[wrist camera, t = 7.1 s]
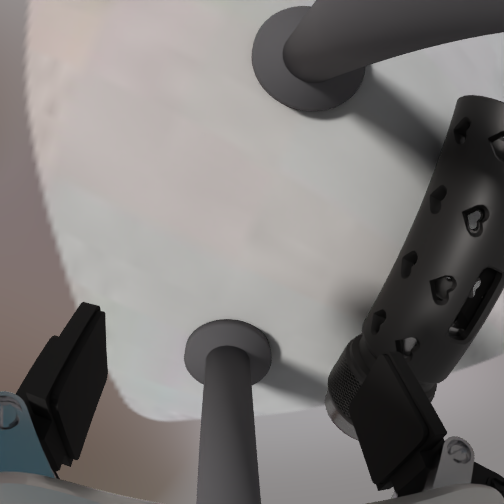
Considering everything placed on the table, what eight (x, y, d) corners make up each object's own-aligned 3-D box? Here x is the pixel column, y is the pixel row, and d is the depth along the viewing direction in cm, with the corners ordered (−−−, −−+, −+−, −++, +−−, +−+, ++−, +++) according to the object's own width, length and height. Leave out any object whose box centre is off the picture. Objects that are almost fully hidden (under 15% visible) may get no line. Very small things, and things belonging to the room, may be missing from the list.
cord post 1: (280, 327, 29) (337, 612, 6) (258, 386, 32) (282, 616, 9) (191, 311, 27) (155, 618, 5) (181, 374, 30) (156, 613, 8)
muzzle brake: (496, 142, 22) (576, 165, 13) (380, 376, 33) (413, 446, 23) (426, 92, 21) (516, 93, 11) (306, 367, 31) (328, 450, 22)
